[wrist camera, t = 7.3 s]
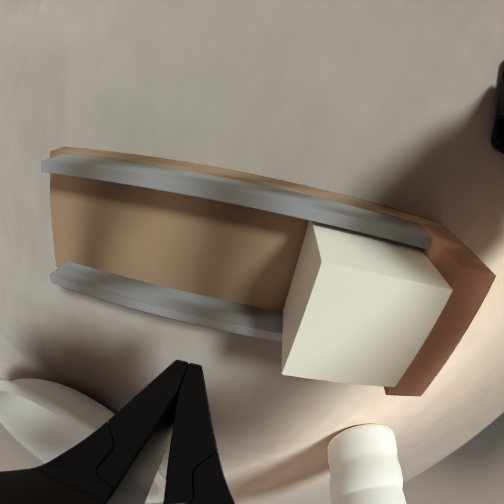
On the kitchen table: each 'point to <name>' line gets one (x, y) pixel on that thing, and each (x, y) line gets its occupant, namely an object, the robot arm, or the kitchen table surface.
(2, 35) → the kitchen table surface
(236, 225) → the track
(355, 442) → the water bottle
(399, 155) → the kitchen table surface
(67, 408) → the soup bowl
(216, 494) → the robot arm
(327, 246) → the block
